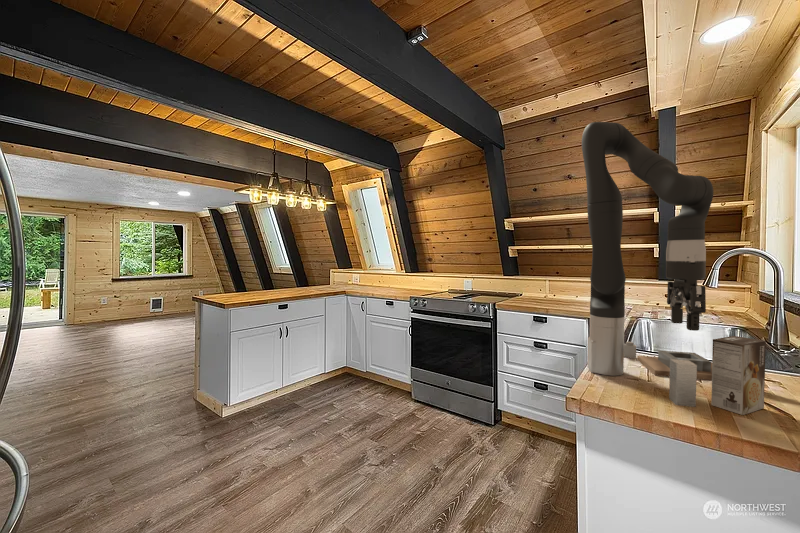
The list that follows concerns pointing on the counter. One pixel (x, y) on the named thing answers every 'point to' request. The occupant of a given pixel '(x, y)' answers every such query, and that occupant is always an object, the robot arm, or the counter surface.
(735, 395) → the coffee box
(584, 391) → the counter surface
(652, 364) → the dock
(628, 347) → the grey rectangular block
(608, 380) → the counter surface
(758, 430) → the counter surface
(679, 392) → the key peg
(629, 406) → the counter surface
